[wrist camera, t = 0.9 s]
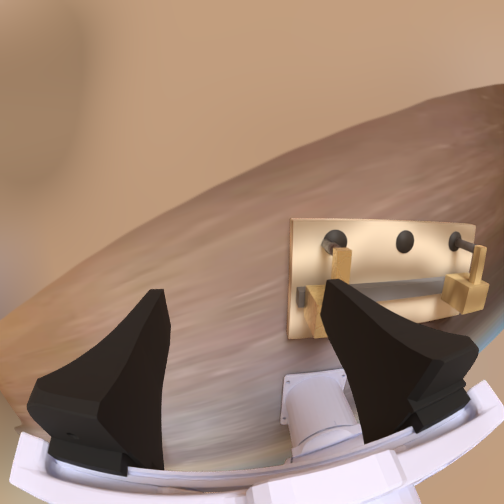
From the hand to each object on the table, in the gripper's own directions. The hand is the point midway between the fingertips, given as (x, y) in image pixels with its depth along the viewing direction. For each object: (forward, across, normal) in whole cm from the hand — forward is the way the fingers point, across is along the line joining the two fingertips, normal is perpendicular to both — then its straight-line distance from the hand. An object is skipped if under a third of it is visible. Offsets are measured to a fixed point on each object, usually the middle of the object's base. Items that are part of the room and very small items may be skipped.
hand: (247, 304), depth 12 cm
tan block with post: (+10, -8, +6) cm, 15 cm away
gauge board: (+11, -18, +7) cm, 22 cm away
